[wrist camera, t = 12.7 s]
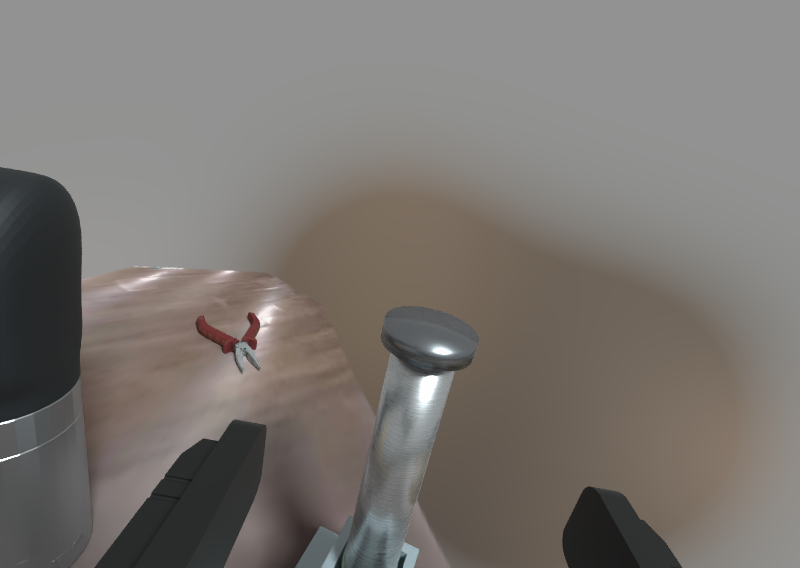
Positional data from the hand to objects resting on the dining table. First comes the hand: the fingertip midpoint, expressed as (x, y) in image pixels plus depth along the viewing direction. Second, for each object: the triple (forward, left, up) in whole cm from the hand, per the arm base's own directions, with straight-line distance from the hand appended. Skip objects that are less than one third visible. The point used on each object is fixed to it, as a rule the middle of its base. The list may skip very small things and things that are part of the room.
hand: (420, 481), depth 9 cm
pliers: (-44, +44, -32) cm, 70 cm away
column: (-2, +13, -23) cm, 26 cm away
